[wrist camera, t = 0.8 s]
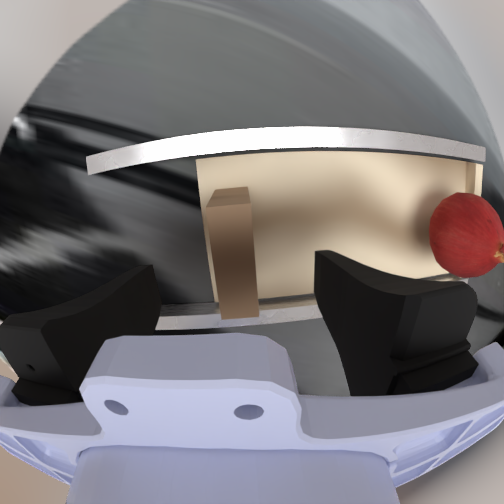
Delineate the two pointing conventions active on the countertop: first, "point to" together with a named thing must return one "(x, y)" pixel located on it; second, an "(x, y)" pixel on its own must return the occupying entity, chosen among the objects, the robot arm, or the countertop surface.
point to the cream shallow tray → (319, 217)
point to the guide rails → (262, 139)
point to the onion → (466, 235)
